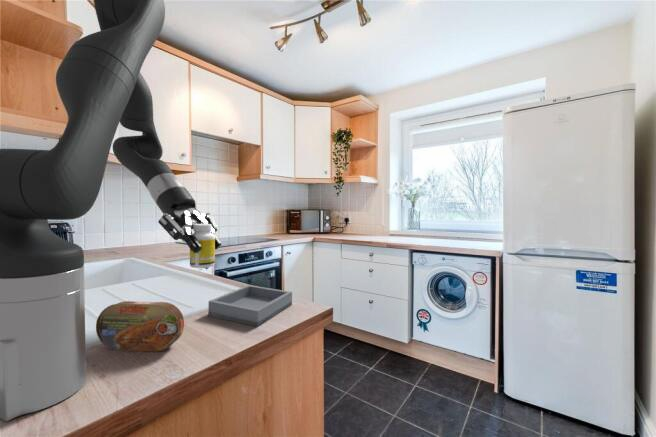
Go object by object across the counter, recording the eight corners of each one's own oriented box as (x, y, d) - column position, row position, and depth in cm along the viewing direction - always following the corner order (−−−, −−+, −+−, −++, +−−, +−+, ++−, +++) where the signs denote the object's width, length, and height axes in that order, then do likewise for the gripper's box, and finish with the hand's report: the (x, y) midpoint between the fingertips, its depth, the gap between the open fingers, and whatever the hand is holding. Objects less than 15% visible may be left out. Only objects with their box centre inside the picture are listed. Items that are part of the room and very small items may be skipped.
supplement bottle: (218, 264, 69) (219, 224, 69) (207, 269, 64) (208, 225, 63) (197, 262, 70) (197, 223, 69) (184, 267, 64) (184, 224, 64)
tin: (94, 349, 51) (94, 303, 50) (108, 341, 54) (108, 297, 54) (177, 353, 51) (177, 306, 50) (186, 344, 54) (186, 300, 53)
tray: (257, 327, 62) (258, 311, 62) (208, 315, 67) (208, 301, 67) (291, 304, 76) (292, 292, 76) (248, 297, 81) (248, 284, 81)
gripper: (151, 183, 62) (192, 242, 58) (202, 187, 75) (238, 235, 72) (135, 206, 64) (173, 264, 60) (187, 206, 77) (221, 254, 74)
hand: (208, 248), depth 66 cm, fingers closed on supplement bottle, 5 cm apart
